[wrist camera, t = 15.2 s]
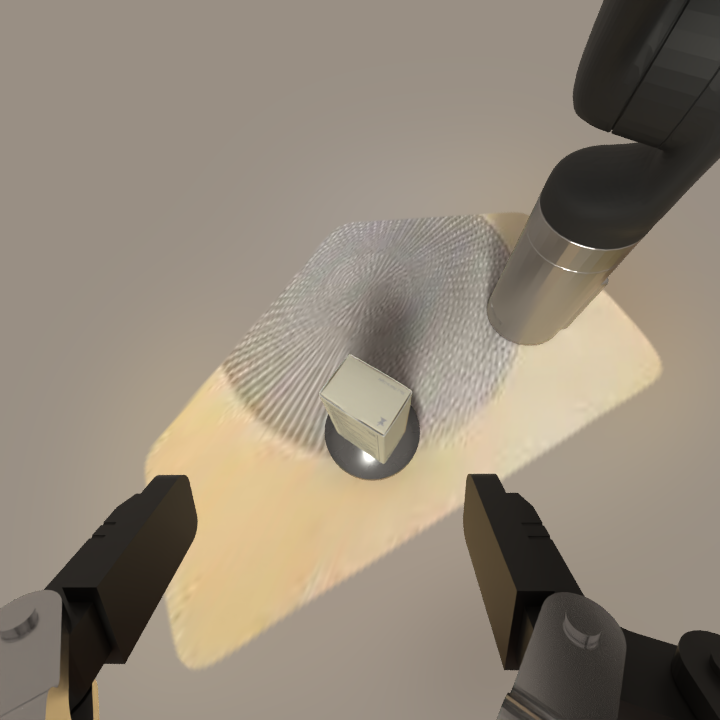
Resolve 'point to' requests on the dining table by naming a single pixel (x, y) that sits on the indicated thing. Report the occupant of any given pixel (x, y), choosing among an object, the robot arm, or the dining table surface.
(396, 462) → the dark gray bowl
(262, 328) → the dining table surface
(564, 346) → the dining table surface
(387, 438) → the skincare box
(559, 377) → the dining table surface
